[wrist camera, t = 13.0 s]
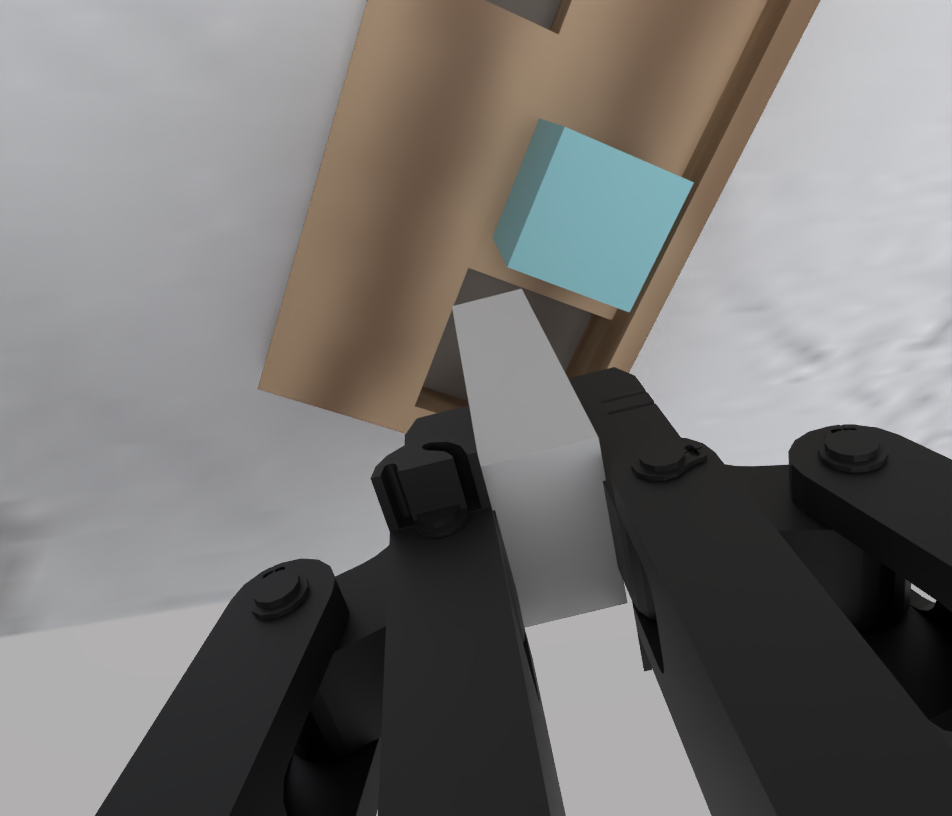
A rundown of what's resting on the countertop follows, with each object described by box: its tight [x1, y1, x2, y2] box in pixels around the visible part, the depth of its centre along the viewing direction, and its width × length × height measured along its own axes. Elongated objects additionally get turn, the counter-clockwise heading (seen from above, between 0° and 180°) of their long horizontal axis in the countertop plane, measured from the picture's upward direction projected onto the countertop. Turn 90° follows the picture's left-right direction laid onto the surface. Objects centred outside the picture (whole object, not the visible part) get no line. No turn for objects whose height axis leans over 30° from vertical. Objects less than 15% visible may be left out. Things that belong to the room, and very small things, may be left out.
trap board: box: [258, 0, 820, 433], centre depth 27 cm, size 15×33×5 cm, turn 159°
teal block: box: [492, 118, 694, 313], centre depth 26 cm, size 5×5×5 cm
